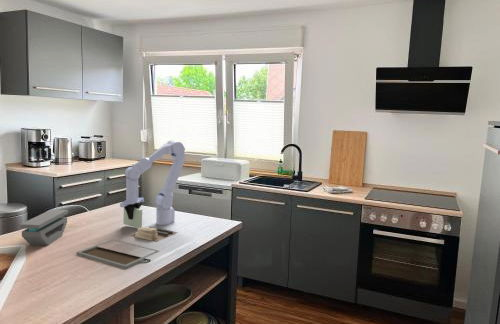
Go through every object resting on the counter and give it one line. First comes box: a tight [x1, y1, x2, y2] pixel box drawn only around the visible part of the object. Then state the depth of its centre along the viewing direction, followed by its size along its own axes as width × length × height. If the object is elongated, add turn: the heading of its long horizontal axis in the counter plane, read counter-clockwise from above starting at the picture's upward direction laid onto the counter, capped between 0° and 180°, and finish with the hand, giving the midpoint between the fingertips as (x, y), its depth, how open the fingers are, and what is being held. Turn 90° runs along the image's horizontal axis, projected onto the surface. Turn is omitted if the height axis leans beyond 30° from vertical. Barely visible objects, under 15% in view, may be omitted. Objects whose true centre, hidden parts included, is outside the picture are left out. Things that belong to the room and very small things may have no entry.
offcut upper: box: [137, 226, 157, 235], centre depth 174 cm, size 4×8×2 cm, turn 70°
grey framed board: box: [75, 239, 160, 270], centre depth 156 cm, size 19×2×30 cm
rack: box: [129, 226, 179, 243], centre depth 180 cm, size 16×16×2 cm
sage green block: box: [122, 207, 143, 229], centre depth 188 cm, size 2×10×9 cm, turn 64°
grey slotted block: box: [19, 208, 69, 246], centre depth 169 cm, size 25×8×11 cm, turn 0°
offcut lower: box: [134, 231, 158, 241], centre depth 175 cm, size 5×9×2 cm, turn 64°
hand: (132, 218), depth 189 cm, fingers closed on sage green block, 2 cm apart
